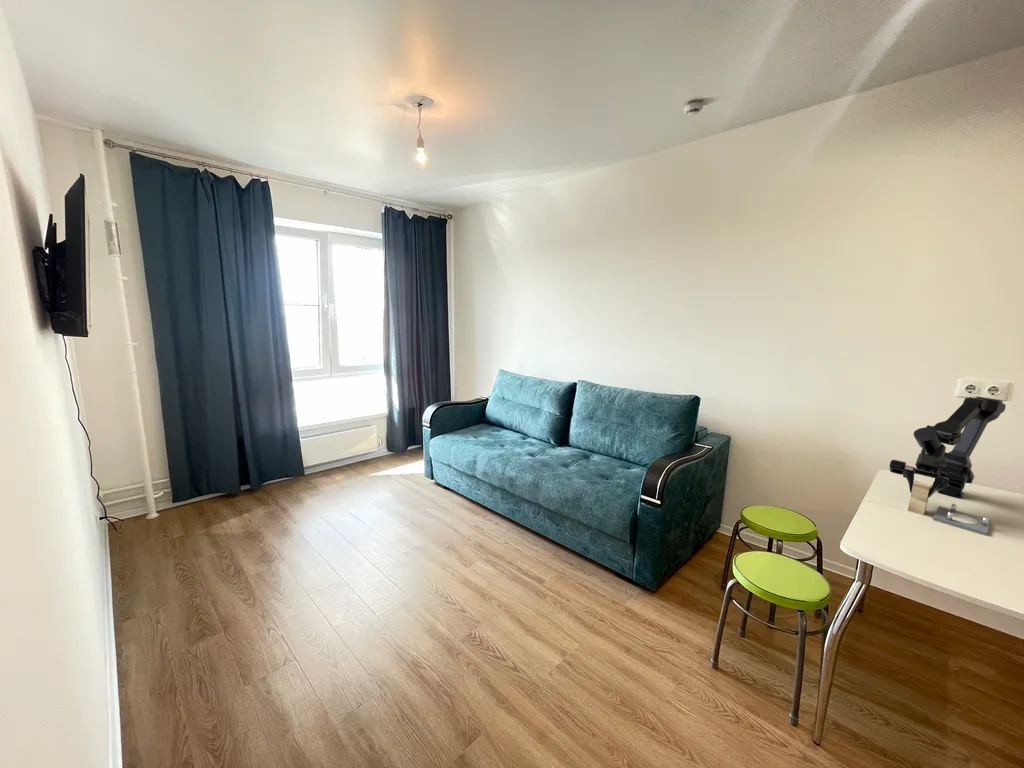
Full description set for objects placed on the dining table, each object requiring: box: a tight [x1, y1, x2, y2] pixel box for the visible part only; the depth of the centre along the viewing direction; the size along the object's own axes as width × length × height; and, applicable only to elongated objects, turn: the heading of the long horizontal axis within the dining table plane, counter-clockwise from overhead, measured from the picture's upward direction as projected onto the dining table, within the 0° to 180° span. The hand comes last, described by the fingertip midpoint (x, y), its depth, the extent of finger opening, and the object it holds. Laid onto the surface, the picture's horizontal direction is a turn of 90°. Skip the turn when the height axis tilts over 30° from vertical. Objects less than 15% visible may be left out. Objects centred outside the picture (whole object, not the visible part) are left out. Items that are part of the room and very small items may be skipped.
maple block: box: [907, 480, 932, 516], centre depth 143 cm, size 4×4×10 cm
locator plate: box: [932, 503, 991, 536], centre depth 136 cm, size 12×12×4 cm
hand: (919, 494), depth 141 cm, fingers closed on maple block, 4 cm apart
